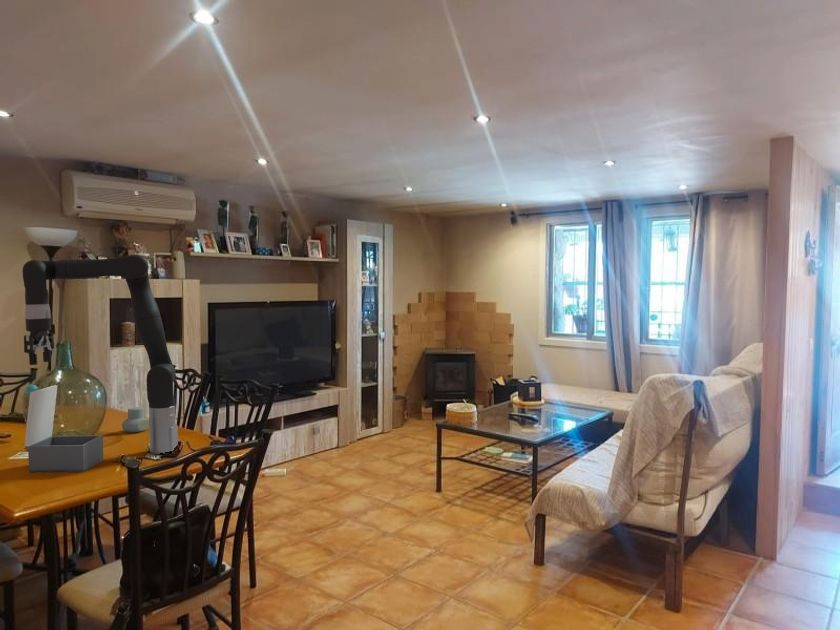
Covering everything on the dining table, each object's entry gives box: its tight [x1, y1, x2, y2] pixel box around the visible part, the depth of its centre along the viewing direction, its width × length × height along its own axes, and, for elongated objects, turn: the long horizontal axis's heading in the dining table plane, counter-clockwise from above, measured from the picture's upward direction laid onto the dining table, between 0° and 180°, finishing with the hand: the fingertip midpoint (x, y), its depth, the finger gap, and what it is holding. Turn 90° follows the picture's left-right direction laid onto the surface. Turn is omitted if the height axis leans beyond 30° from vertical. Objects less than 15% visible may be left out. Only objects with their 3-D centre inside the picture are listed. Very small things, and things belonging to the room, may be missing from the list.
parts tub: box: [27, 434, 105, 474], centre depth 209 cm, size 18×14×9 cm
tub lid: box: [24, 384, 58, 448], centre depth 207 cm, size 19×14×6 cm
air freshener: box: [121, 406, 149, 433], centre depth 260 cm, size 11×8×10 cm
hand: (40, 363), depth 211 cm, fingers open, 8 cm apart
